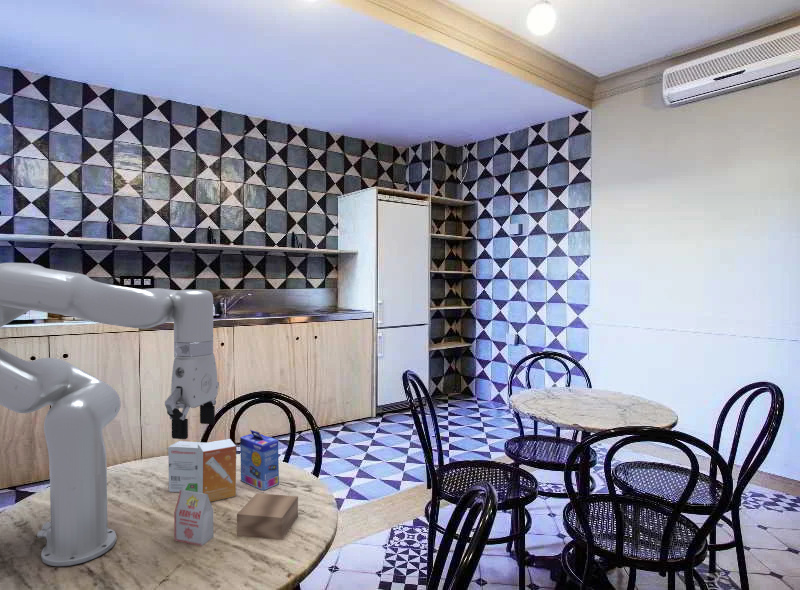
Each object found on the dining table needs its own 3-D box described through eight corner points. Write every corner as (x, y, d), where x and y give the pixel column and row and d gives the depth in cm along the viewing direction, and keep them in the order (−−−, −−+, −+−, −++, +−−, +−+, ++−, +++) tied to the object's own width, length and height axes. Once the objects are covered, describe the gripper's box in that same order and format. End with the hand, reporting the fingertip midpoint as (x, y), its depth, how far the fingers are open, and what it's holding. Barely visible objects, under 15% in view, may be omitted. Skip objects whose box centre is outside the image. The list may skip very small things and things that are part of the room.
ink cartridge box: (238, 481, 131) (238, 428, 130) (255, 474, 135) (256, 423, 134) (262, 491, 125) (262, 436, 124) (279, 484, 129) (279, 430, 129)
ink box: (209, 485, 128) (209, 441, 127) (199, 494, 123) (199, 448, 122) (178, 483, 129) (178, 439, 128) (167, 492, 124) (167, 446, 123)
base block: (236, 537, 104) (236, 514, 104) (256, 514, 114) (256, 493, 114) (281, 541, 103) (281, 517, 102) (297, 517, 113) (298, 496, 112)
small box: (202, 504, 118) (202, 451, 117) (197, 494, 123) (196, 443, 122) (236, 496, 122) (236, 445, 121) (230, 487, 127) (230, 438, 127)
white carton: (186, 531, 105) (186, 486, 105) (213, 536, 103) (213, 490, 103) (174, 540, 102) (174, 493, 101) (201, 546, 100) (201, 498, 99)
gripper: (185, 357, 92) (185, 446, 93) (232, 344, 109) (232, 419, 110) (149, 355, 93) (150, 443, 94) (201, 342, 110) (201, 417, 111)
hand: (194, 430), depth 102 cm, fingers open, 9 cm apart
